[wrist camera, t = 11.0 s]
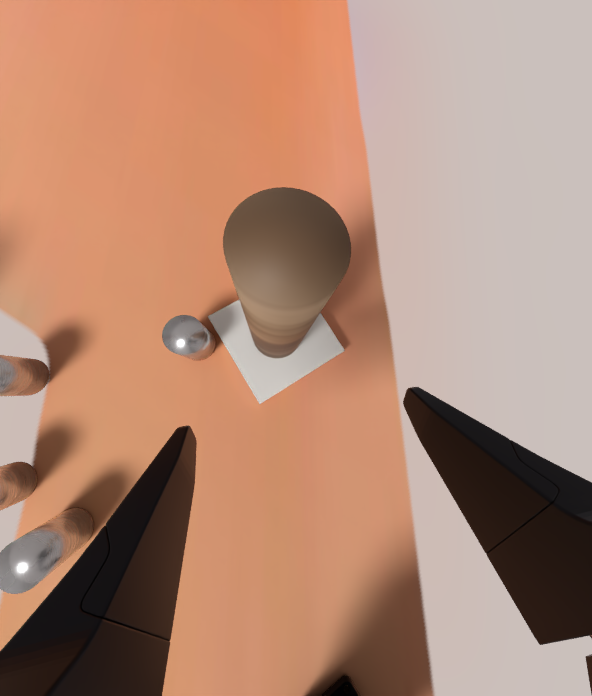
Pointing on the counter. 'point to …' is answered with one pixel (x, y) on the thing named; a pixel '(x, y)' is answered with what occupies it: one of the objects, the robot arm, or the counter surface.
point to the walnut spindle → (284, 263)
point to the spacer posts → (21, 478)
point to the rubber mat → (273, 372)
